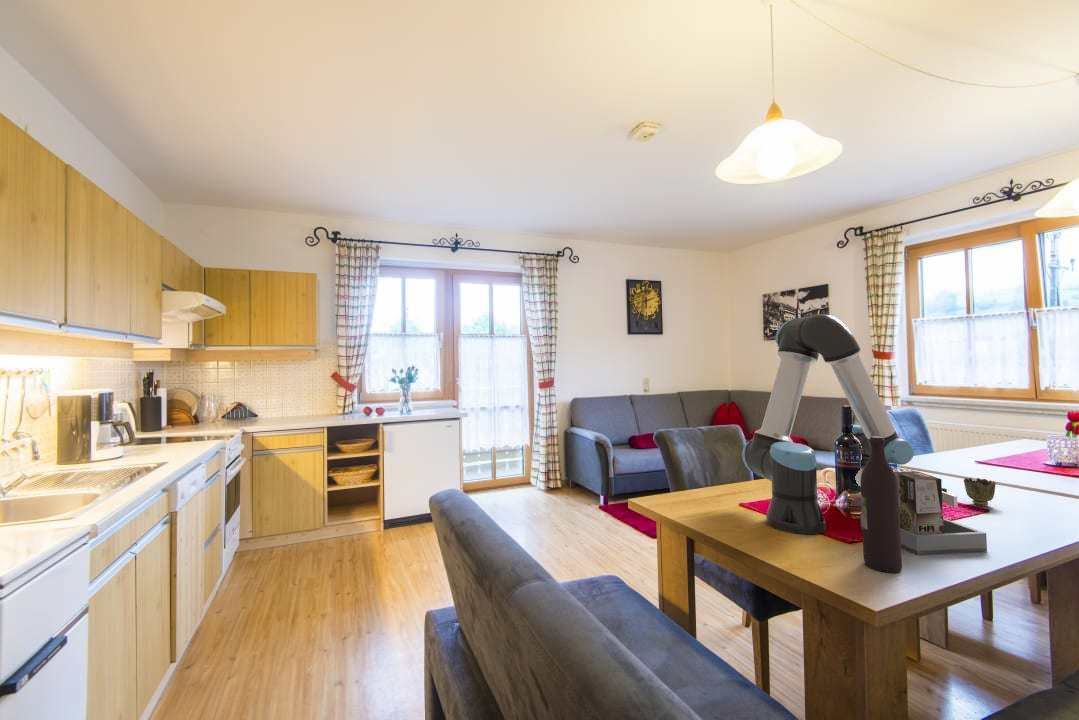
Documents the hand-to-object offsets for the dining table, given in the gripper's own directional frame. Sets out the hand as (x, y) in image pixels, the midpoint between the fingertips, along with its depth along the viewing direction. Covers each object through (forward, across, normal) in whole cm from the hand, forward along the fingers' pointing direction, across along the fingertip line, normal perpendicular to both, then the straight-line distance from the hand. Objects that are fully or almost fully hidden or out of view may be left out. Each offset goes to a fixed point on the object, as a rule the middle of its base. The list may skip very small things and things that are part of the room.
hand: (926, 501), depth 116 cm
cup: (-34, -38, -11) cm, 53 cm away
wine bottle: (+14, +19, -11) cm, 26 cm away
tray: (-3, 0, -11) cm, 11 cm away
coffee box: (-3, 0, -10) cm, 11 cm away
